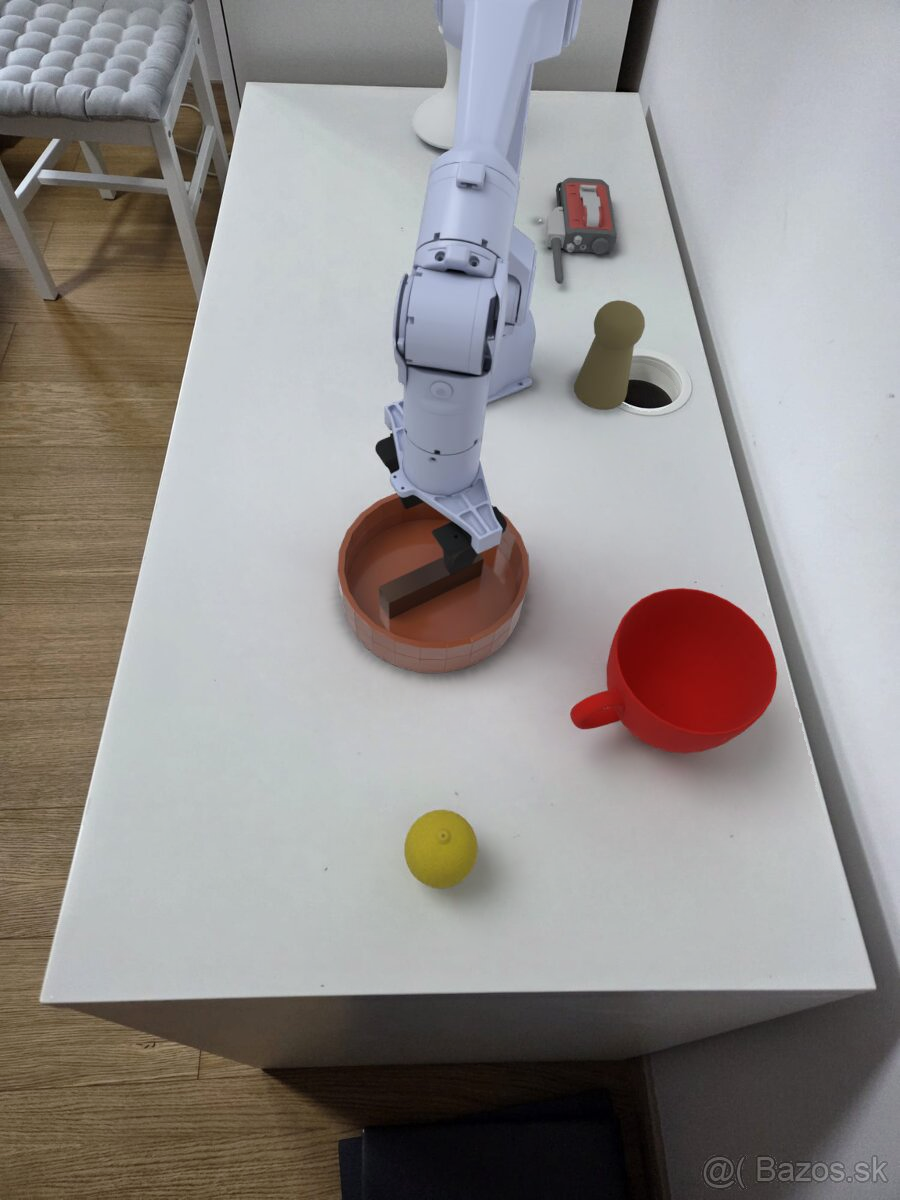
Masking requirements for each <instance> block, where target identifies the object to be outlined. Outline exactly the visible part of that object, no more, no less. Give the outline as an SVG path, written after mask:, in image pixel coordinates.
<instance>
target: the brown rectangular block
mask: <svg viewBox="0 0 900 1200" xmlns="http://www.w3.org/2000/svg"><path fill="white" fill-rule="evenodd" d="M483 562H484V558H483V556H482V555H481V554H480V553H479V554H478V555H477V557H476V558H475V560H474V562H473V563H472V565H471V567H469V568H467V569H465V570H463V571H461V572H459V573H456V574H454V575H450V574H449V573H448V571H447V569H446V568H445V565H444V557H442V558H440V559H437V560H435V561H433V562H431V563H429V564H427V565H424V566H422V567H420V568H418V569H416V570H414V571H411V572H409V573H407V574H405V575H403V576H401V577H398V578H396V579H394V580H392V581H390V582H388V583H385V584H383V585H381V586H379V603H380V605H381V606H382V608H383V610H384V611H385V613H386V614H387V616H388V618H389V619H391V618H393V617H395V616H397V615H399V614H401V613H404V612H406V611H408V610H410V609H412V608H414V607H416V606H418V605H420V604H422V603H425V602H427V601H429V600H431V599H433V598H435V597H437V596H439V595H441V594H443V593H446V592H448V591H450V590H452V589H454V588H456V587H458V586H460V585H462V584H464V583H467V582H469V581H471V580H473V579H475V578H477V577H479V576H481V574H482V568H483Z"/></svg>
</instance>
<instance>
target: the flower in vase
mask: <svg viewBox="0 0 900 1200" xmlns="http://www.w3.org/2000/svg"><path fill="white" fill-rule="evenodd" d="M437 28H438V31H439V33H440V35H441V37H443V29H442V28H441V26H440V23H439V25H438V27H437ZM443 41H444V45H445V50H446V60H447V61H446V62H447V63H446V64H447V66H446V67H447V68H446V70H447V71H446V80H445V83H444V86H443V88H442V89H440V90H439V91H437V92H436V93H434V94H432V95H431V96H429V98H427V99H425V100H424V101H423V102H422V103H421V104H420V105H419V106H418V107H417V108H416V110H415V112H414V114H413V116H412V120H411V121H412V122H411V124H412V128H413V130H414V131H415V133H416V135H417V136H418V137H419V139H421V140H422V141H424V142H425V143H426V144H428V145H430V146H433V147H436V148H438V149H443V150H450V149H452V148H453V144H454V132H455V121H456V109H457V98H458V86H459V74H460V63H461V51H459V50H458V49H457V48H455V47H454V46H452V45H451V44H450V43H448V42H447V41H445V40H444V39H443Z"/></svg>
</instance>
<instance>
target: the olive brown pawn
mask: <svg viewBox="0 0 900 1200" xmlns="http://www.w3.org/2000/svg"><path fill="white" fill-rule="evenodd" d="M645 328H646V322H645V316H644V314H643V312H642V310H641V309H640V308H639V306H637V305H636V304H634V303H632V302H629V301H625V300H611V301H609V302H607V303H605V304H603V306H601V307H600V308H599V309H598V311H597V313H596V315H595V317H594V319H593V332H594V335H595V336H594V337H593V341H592V343H591V345H590V347H589V349H588V352H587V354H586V356H585V358H584V361H583V363H582V366H581V368H580V370H579V372H578V375H577V377H576V379H575V382H574V384H573V392H574V394H575V396H576V398H577V399H578V400H579V401H580V402H581V403H582V404H584V405H586V406H587V407H590V408H592V409H595V410H601V411H602V410H603V411H605V410H612V409H616V408H617V407H619V406H621V405H622V404H623V403H624V402H625V401H626V397H627V394H628V389H629V388H628V387H629V383H630V382H629V381H630V375H631V368H632V361H633V354H634V349H635V345H636V344H637V343H639V341H640V339H641V338H642V336H643V333H644V331H645Z"/></svg>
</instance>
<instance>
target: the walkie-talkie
mask: <svg viewBox="0 0 900 1200" xmlns="http://www.w3.org/2000/svg"><path fill="white" fill-rule="evenodd" d="M610 191H611V190H610V185H608V184H607V182H605V181H604V180H603V179H600V178H584V177H567V178H565V179H564V180H563V181H559V182H558V183H557V184H556V187H555V195H556V196H555V197H556V206H555V207H554V209H553V210H552V211H551V212H550V213H549V214H548V215H547V219H546V225H545V232H546V233H545V234H546V239H545V247H547V248H550V249H551V252H552V261H553V269H554V280H555V282H556V283H557V284H559V285H561V284H563V283H564V271H563V261H562V260H563V259H562V250H561V249H563V250H564V251H565V252H568V253H572V252H575V253H593V254H596V255H602V254H611V253H612V252H613V249H614V247H615V244H616V241H617V229H616V228H617V227H616V223H615V215H614V210H613V202H612V198H611V192H610Z"/></svg>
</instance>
